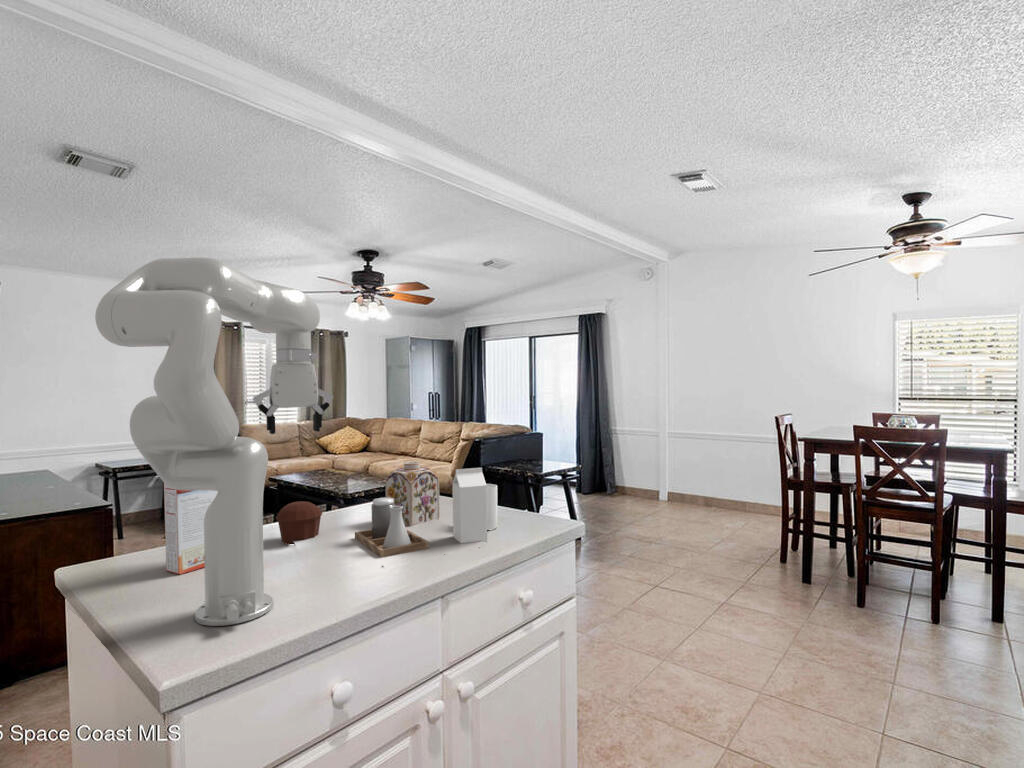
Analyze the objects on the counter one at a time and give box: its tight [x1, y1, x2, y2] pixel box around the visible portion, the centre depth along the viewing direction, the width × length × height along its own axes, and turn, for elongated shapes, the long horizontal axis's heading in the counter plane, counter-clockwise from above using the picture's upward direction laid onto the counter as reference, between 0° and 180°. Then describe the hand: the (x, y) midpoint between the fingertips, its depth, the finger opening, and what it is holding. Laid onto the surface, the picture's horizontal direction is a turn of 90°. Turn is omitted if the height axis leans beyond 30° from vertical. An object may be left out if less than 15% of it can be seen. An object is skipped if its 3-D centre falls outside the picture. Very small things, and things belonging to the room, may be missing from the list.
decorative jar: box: [385, 461, 441, 527], centre depth 162 cm, size 12×12×18 cm
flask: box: [382, 506, 411, 549], centre depth 133 cm, size 7×7×10 cm
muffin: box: [275, 500, 323, 545], centre depth 145 cm, size 12×11×10 cm
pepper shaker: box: [371, 497, 395, 539], centre depth 141 cm, size 6×6×10 cm
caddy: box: [354, 528, 430, 559], centre depth 137 cm, size 20×12×3 cm, turn 33°
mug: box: [486, 483, 498, 530], centre depth 155 cm, size 10×7×12 cm, turn 44°
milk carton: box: [452, 467, 488, 544], centre depth 140 cm, size 7×7×19 cm
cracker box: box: [163, 482, 218, 575], centre depth 126 cm, size 14×6×21 cm, turn 149°
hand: (294, 432), depth 125 cm, fingers open, 9 cm apart
